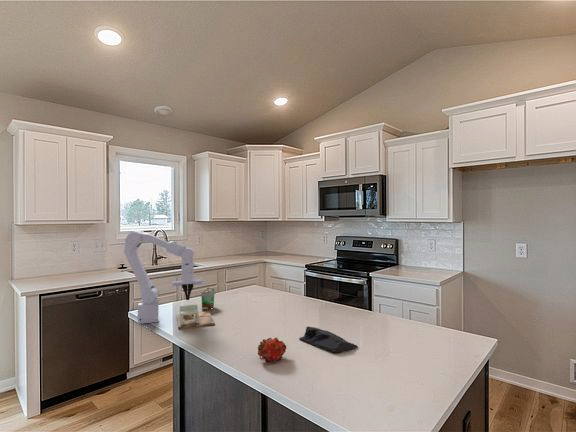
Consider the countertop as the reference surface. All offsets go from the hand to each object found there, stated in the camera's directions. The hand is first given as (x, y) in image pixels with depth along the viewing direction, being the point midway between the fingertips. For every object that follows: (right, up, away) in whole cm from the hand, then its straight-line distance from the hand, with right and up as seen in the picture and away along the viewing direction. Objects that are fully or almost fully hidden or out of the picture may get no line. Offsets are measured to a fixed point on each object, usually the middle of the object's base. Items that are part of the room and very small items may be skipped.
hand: (187, 299), depth 163 cm
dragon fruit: (+44, -9, -47) cm, 65 cm away
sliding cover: (+4, -8, -9) cm, 13 cm away
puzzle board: (+5, -9, -3) cm, 11 cm away
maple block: (0, -10, 0) cm, 10 cm away
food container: (+7, -10, +19) cm, 22 cm away
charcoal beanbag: (+66, -10, -31) cm, 73 cm away
